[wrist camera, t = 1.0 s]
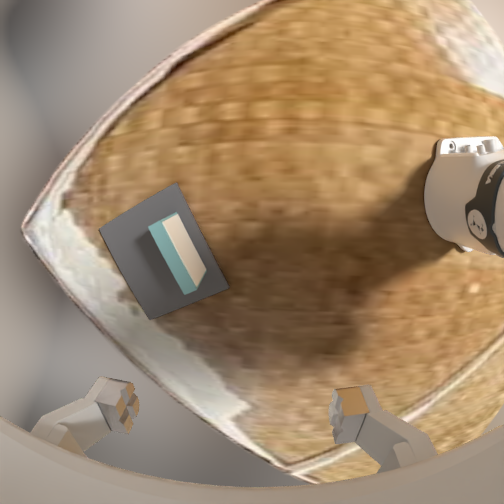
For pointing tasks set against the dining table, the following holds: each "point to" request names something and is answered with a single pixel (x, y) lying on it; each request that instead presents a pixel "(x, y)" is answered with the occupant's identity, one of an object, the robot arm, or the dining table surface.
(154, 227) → the box
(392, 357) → the dining table surface
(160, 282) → the mat
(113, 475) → the robot arm
